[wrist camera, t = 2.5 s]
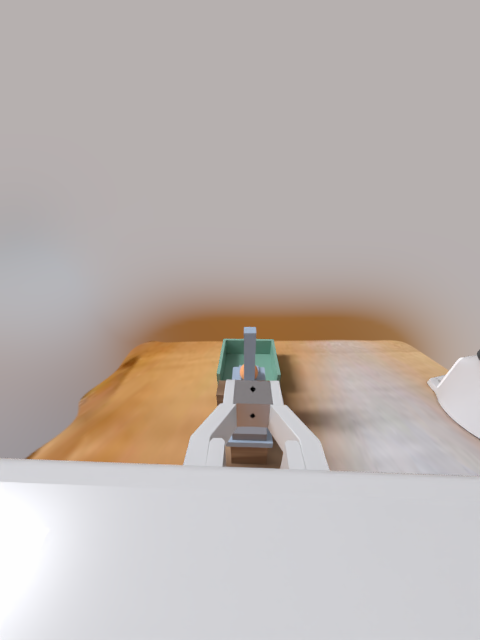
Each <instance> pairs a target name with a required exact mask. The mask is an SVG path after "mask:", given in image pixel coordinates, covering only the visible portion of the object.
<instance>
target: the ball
mask: <svg viewBox="0 0 480 640" xmlns="http://www.w3.org/2000/svg"><path fill="white" fill-rule="evenodd" d="M240 376H241V378H242V379H243V380H244V364H243V365H242V366H241V368H240ZM257 376H258V369H257V367H256V366H255V379H256V378H257Z"/></svg>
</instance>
